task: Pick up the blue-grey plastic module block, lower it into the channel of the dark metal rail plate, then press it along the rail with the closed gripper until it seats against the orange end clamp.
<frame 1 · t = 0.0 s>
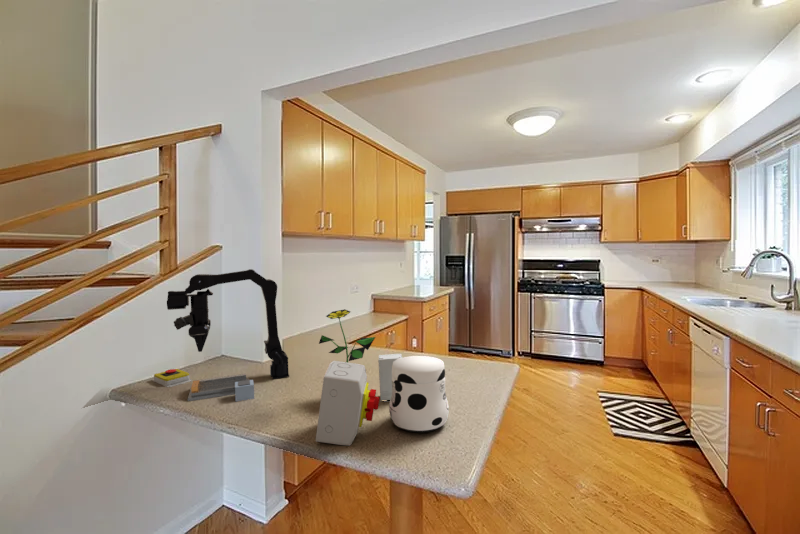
hand: (201, 348, 144), 15 cm above the countertop, fingers open, 9 cm apart
electrical switch box: (350, 434, 106), on the countertop
module: (244, 397, 134), on the countertop
potted plant: (347, 400, 130), on the countertop
cow print canister: (419, 424, 111), on the countertop
emergency button: (172, 382, 153), on the countertop
skincare box: (391, 399, 131), on the countertop
rail plate: (220, 390, 141), on the countertop
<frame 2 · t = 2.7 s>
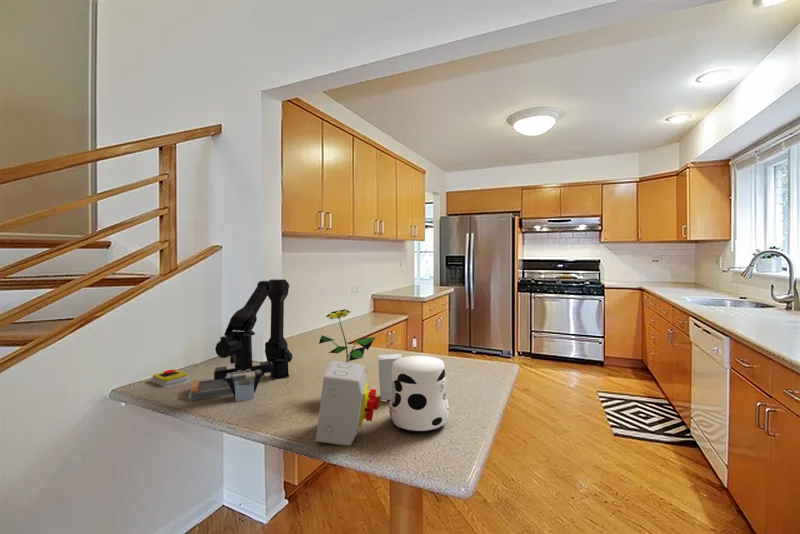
hand: (244, 394, 134), 1 cm above the countertop, fingers closed on module, 6 cm apart
module: (244, 397, 134), on the countertop, touching gripper
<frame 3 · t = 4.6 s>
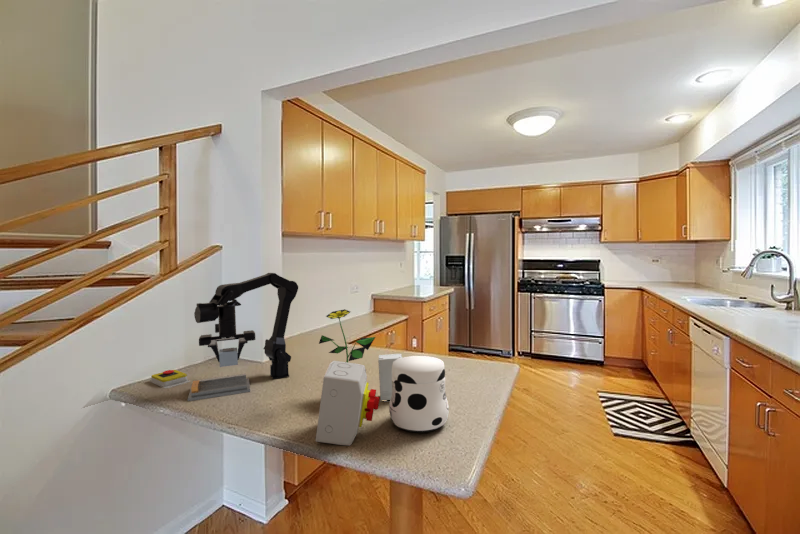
hand: (228, 360, 141), 11 cm above the countertop, fingers closed on module, 6 cm apart
module: (228, 363, 141), point 10 cm above the countertop, touching gripper
when the fingers open (3 cm above the countertop, at t = 6.4 s): module drops 1 cm, resting on rail plate.
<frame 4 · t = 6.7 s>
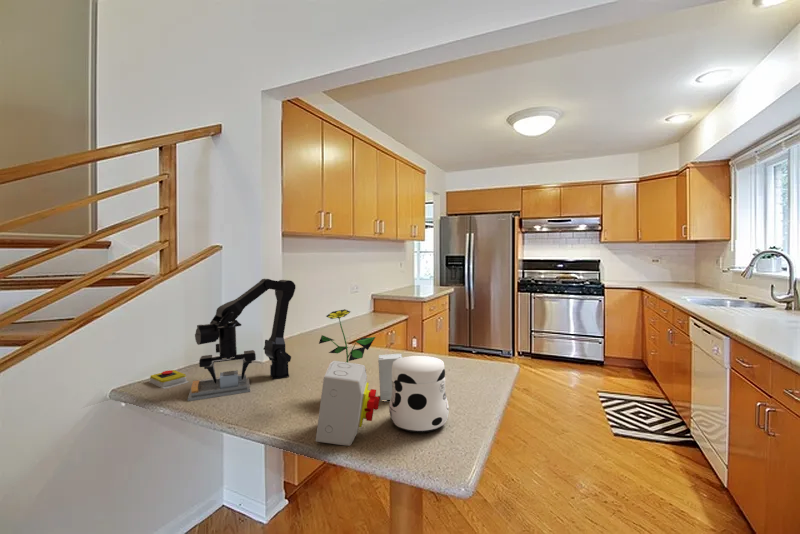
hand: (229, 381, 141), 3 cm above the countertop, fingers open, 9 cm apart
module: (229, 387, 141), point 1 cm above the countertop, touching rail plate
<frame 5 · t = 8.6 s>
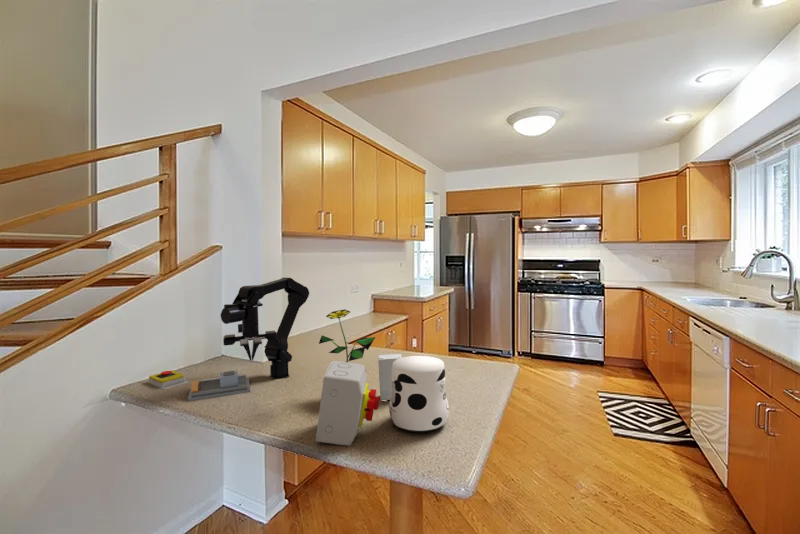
hand: (251, 360, 144), 10 cm above the countertop, fingers closed
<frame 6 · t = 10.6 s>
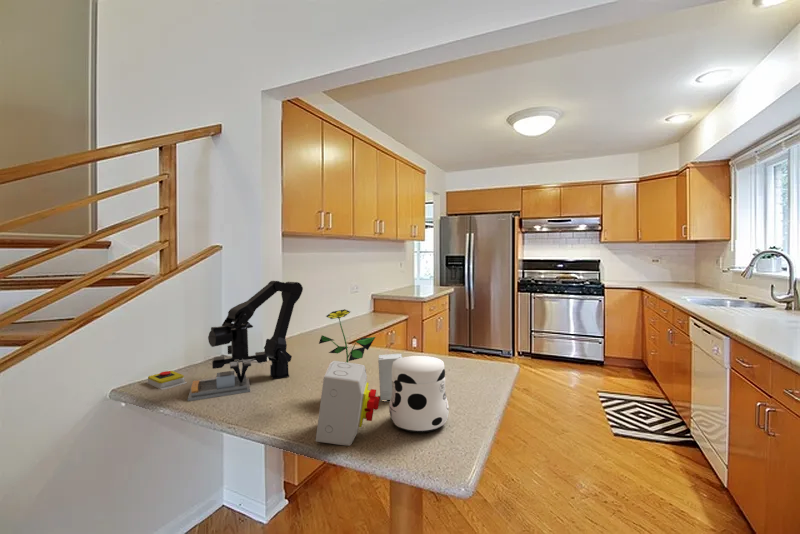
hand: (241, 382, 143), 2 cm above the countertop, fingers closed
module: (226, 387, 141), point 1 cm above the countertop, touching gripper
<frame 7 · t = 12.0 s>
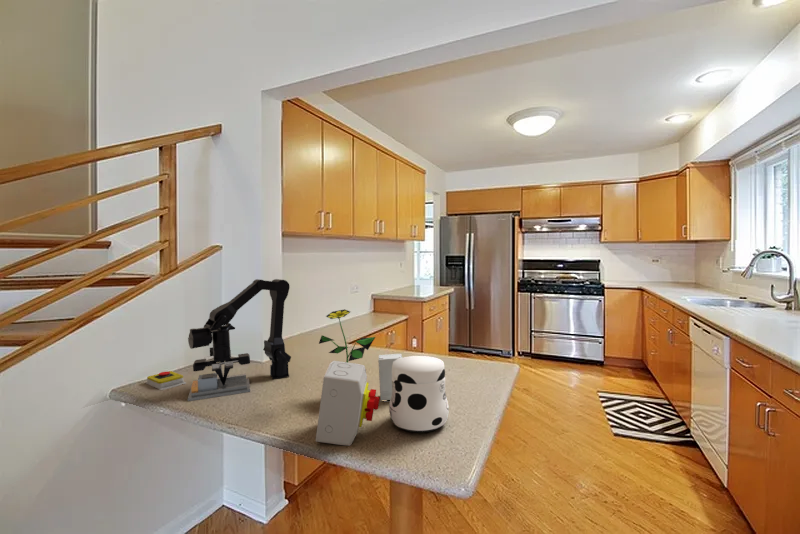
hand: (223, 384, 141), 2 cm above the countertop, fingers closed
module: (208, 390, 139), point 1 cm above the countertop, touching gripper, rail plate
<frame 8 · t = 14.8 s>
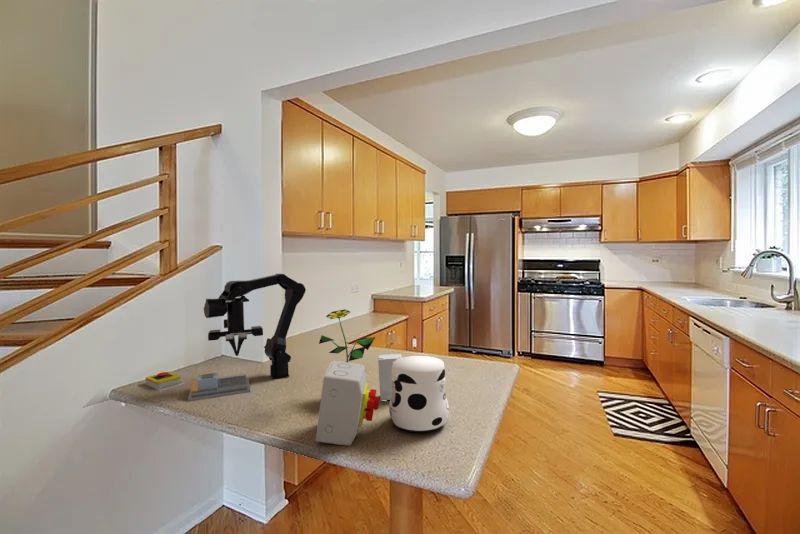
hand: (236, 355, 144), 12 cm above the countertop, fingers closed
module: (208, 390, 139), point 1 cm above the countertop, touching rail plate
at the end: module 0.5 cm from the target spot on the rail plate, point 1.0 cm above the rail plate's base; module tilted 0°; module touching rail plate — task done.
